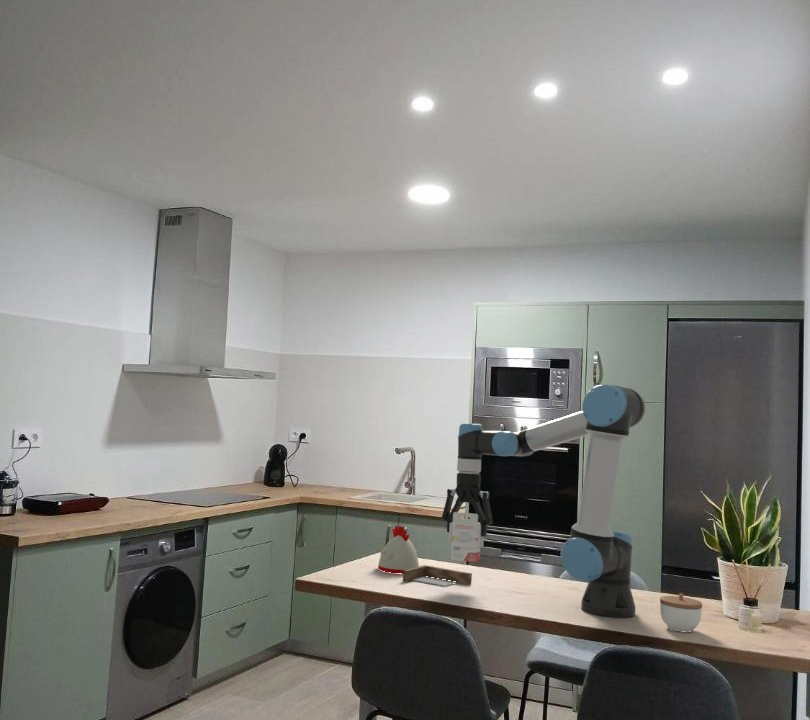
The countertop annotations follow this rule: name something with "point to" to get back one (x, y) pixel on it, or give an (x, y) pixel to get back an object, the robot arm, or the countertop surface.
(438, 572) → the corner walls
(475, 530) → the ink cartridge box
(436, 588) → the countertop surface
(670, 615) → the lidded jar
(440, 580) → the pad
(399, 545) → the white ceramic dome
